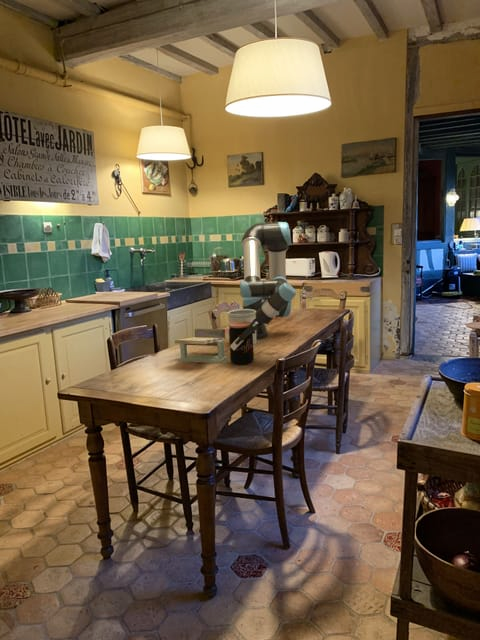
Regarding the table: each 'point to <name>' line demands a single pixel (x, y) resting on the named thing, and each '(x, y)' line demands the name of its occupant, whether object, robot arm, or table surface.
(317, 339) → the table surface
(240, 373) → the table surface
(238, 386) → the table surface
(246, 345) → the coffee jar
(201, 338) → the seesaw plank
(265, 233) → the robot arm
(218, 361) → the seesaw stand
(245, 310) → the utensil holder
